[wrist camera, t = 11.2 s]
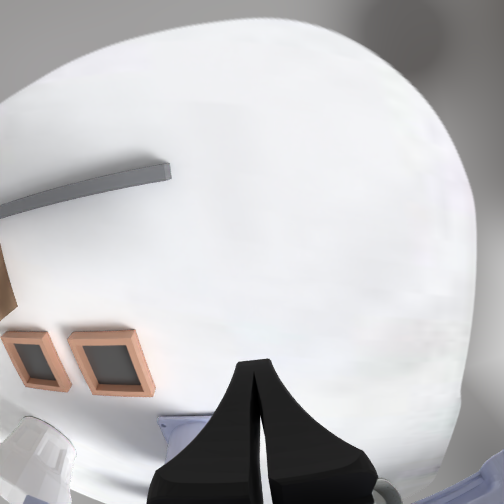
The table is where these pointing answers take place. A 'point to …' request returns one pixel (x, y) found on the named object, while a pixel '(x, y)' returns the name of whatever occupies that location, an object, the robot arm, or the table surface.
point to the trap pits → (83, 362)
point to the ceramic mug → (386, 493)
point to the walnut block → (5, 291)
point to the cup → (36, 464)
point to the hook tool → (88, 188)
